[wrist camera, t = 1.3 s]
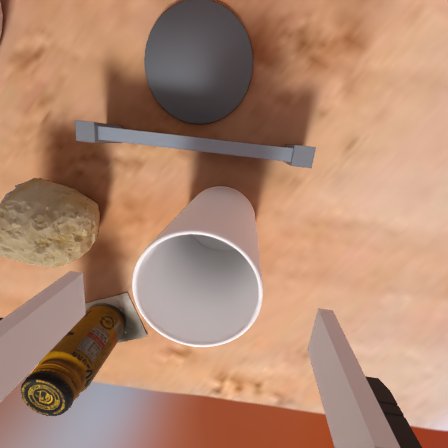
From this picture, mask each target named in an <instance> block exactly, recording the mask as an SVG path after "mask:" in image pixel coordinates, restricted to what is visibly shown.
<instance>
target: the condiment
mask: <svg viewBox="0 0 448 448" xmlns="http://www.w3.org/2000/svg"><path fill="white" fill-rule="evenodd" d="M117 307H119V308H117ZM120 308H122V309H120ZM85 312H86V314H85V316H84V317H83V318H82V319H81V320H80V321H79V322H78V323H77V324H76V325H75V326H74V327H73V328H72V329H71V330H70V331H69V332H68V333H67V334H66V335H65V336H64V337H63V338H62V339H61V340H60V341H59V342H58V343H57V345H56V346H55V347H54V348H53V349H52V350H51V351H50V352H49V353H48V354H47V355H46V356H45V357H44V358H43V359H42V360H41V361H40V362H39V364H38V366H37V367H36V368H35V369H34V371H33V372H32V374H31V375H30V376H29V377H27V378H26V380H25V382H24V383H23V384H22V386H21V394H22V398H23V400H24V401H25V403H26V404H27V406H29V407H30V408H31V409H32V410H34V411H36V412H37V413H41V414H43V415H46V416H48V415H49V416H57V415H61V414H63V413H64V412H66V411H67V410H68V408H70V407H71V405H72V403H73V401H74V400H75V399H76V398H77V397H78V396H79V393H80V392H82V391H84V390H85V389H86V388H87V387H88V386H89V385H90V383H91V381H92V380H93V378H94V377H95V376H96V374H97V372H98V371H99V369H100V368H101V366H102V365H103V363H104V362H105V360H106V359H107V357H108V356H109V354H110V353H111V351H112V350H113V348H114V347H115V345H116V343H118V342H123V341H128V340H133V339H137V338H143V337H147V334H146V332H145V329H144V327H143V325H142V323H141V320H140V318H139V316H138V314H137V311H136V310H135V308H134V306H133V304H132V301H131V300H130V298H129V296H128V294H127V293H124V294H121V295H116V296H113V297H109V298H105V299H100V300H96V301H93V302H89V303H85ZM125 332H126V333H125Z"/></svg>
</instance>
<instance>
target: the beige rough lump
mask: <svg viewBox="0 0 448 448" xmlns="http://www.w3.org/2000/svg"><path fill="white" fill-rule="evenodd" d="M15 187H16V189H14V190H13V191H11V192H9V193H8V194H6V195H5V197H4V199H3V200H2V202H1V204H0V255H2V256H4V257H6V258H9V259H13V260H15V261H19V262H24V263H26V264H28V265H39V266H48V267H58V266H64V265H67V264H69V263H71V262H72V261H74V260H76V259H78V258H80V257H81V256H82V255H83V254H85V253H86V252H87V251H88V250H90V248H91V247H92V245H93V243H94V242H95V240H97V235H98V232H99V229H98V228H99V221H100V212H99V210H98V205H97V203H96V202H94V201H92V200H91V199H90V198H88V197H86V196H84V195H83V194H81V193H79V192H78V191H77V190H76V189H73V188H69V187H67V186H65V185H61V184H57V183H55V182H51V181H49V180H44V179H42V178H39V179H37V178H33V179H32V180H29V181H27V182H25V183H22V184H18V185H16V186H15Z"/></svg>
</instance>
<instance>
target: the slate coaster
mask: <svg viewBox="0 0 448 448" xmlns="http://www.w3.org/2000/svg"><path fill="white" fill-rule="evenodd" d="M252 66H253V57H252V49H251V44H250V41H249V37H248V35H247V33H246V30H245V29H244V27H243V25H242V23H241V22H240V21H239V20H238V18H237V17H236V16H235V15H234V14H233V13H232V12H231V11H230V10H228V9H227V8H226V7H224V6H223V5H221V4H219V3H217V2H214V1H211V0H186V1H183V2H180V3H178V4H176V5H174V6H172V7H171V8H169V9H168V10H167V11H166V12H165V13H164V14H162V15H161V17H160V18H159V19H158V20H157V22H156V23H155V25H154V27H153V28H152V30H151V32H150V35H149V37H148V41H147V44H146V49H145V72H146V77H147V81H148V84H149V87H150V89H151V91H152V93H153V95H154V97H155V98H156V100H157V101H158V103H159V104H160V105H161V106H162V107H163V108H164V109H165V110H166V111H167V112H168V113H170V114H171V115H173V116H174V117H176V118H178V119H180V120H183V121H186V122H189V123H194V124H204V123H210V122H214V121H217V120H219V119H221V118H223V117H225V116H226V115H228V114H229V113H230V112H232V111H233V110H234V109H235V108H236V107H237V106H238V104H239V103H240V102H241V100H242V99H243V97H244V95H245V94H246V91H247V89H248V87H249V83H250V80H251V75H252Z"/></svg>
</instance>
